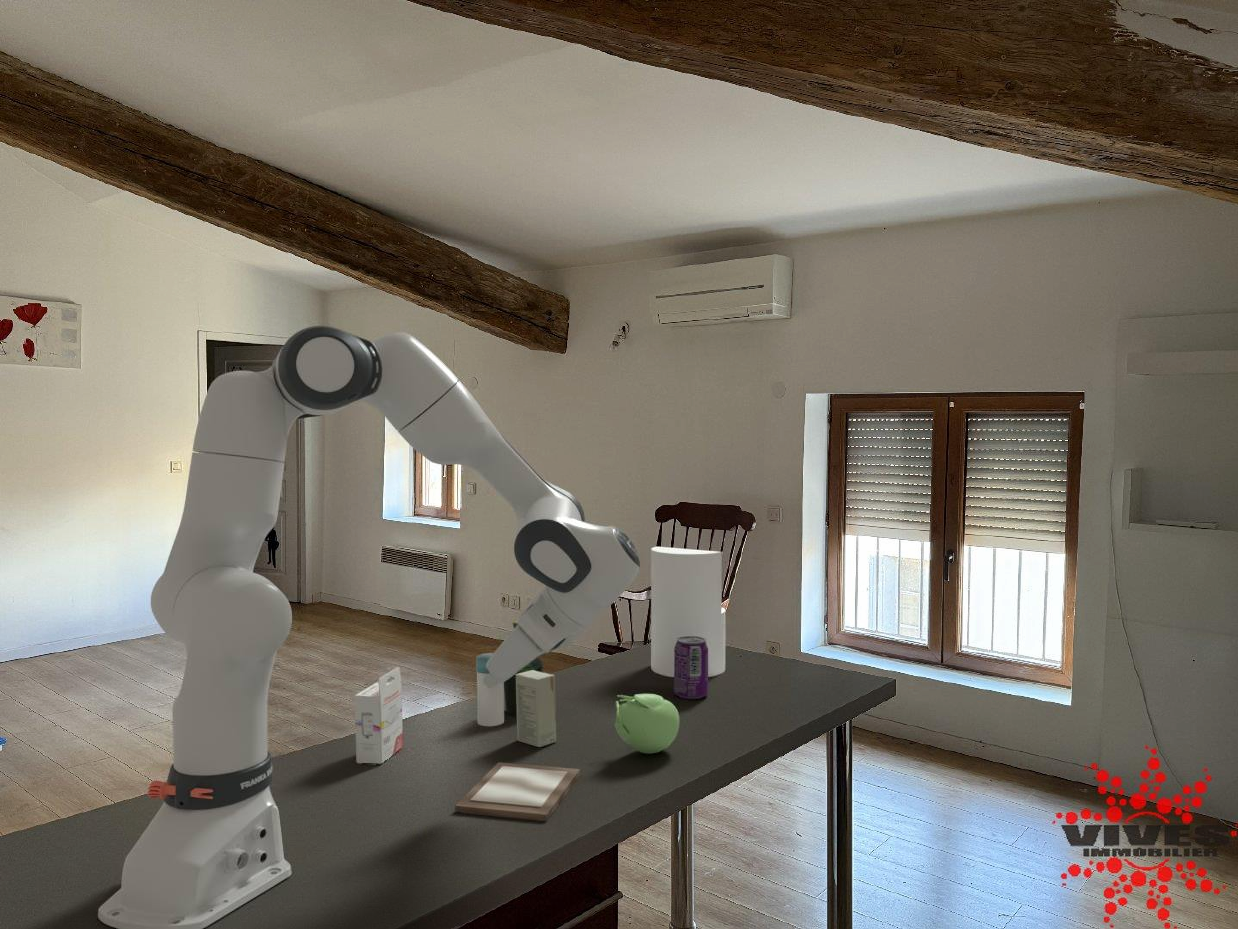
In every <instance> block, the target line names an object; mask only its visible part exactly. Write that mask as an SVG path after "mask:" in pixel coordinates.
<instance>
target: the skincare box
mask: <svg viewBox="0 0 1238 929" xmlns="http://www.w3.org/2000/svg"><path fill="white" fill-rule="evenodd" d="M555 677H556V676H555V674H551V673H547V672H539V671H535V670H531V671H527V672H523V673H519V674H516V706H517V716H516V735H517V737H516V738H517V740H516V741H519V742H521V743H524V744H528V745H531V746H534V747H538V748H541V747H544V746H548V745H550V744H554V743H555V742H557V718H556V717H557V715H556V712H557V711H556V678H555Z"/></svg>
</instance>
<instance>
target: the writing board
mask: <svg viewBox="0 0 1238 929" xmlns="http://www.w3.org/2000/svg"><path fill="white" fill-rule="evenodd" d="M580 776H581V769H580V768H579V769H578V768H568V767H559V766H545V765H534V764H523V763H521V764H520V763H509V762H500V761H498V762H497V763H496V764H495V765H494V766H493V767H492V768H491V769H490V770H489V771H488V772H487V773H486V774H485V775H484V776H483V777H482V778H481V779H480V781H478V782H477V783H476V784H475V785H474V786H473V787H472V789H470V791H469V792H467V794H465V795H464V796H463V798H461V799H460V800H459V801H458V803H457V804H455V806H454V807H455V810H454V812H455V813H457V812H460V813H459V814H467V815H477V816H488V817H498V818H500V817H501V818H510V819H517V820H527V821H528V820H531V821H538V822H539V821H541V822H547V821H548V820H549V819H550V818H551V816H552V815H553V813H554V812H555V811H556V809H557V808H558V807H559V805H560V804H561V802H562V801H563V799H564V798H565V797H566V795H567V794H568V793H569V792H570V789H572V787H573V786H574V785H575V783H576V782H577V780H578V779H579V778H580ZM468 813H469V814H468Z"/></svg>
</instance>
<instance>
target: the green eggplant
mask: <svg viewBox="0 0 1238 929" xmlns="http://www.w3.org/2000/svg"><path fill="white" fill-rule="evenodd" d="M616 696H617V698H621V699H619V700H616V701H615V709H616V719H614V721H615V723H614V728H615V730H616V731H617V734H618V735H619V737H620V738H621V739H622V740H623V741H624V742H625V743H626V744H627V745H630V746H633V748H634V750H636V751H638V752H639V753H642V754H650V755H651V754H657V753H661V751H664V750H665V749H667V748H668V747H670V745H671V744H672V743H673V742H674V741H675V738H676V737H677V736H678V732H679V729H680V715H679V714H680V713H679V712H678V709H677V708H676V706H675V705H674V704H673V703H672V702H671V701H669V700H667V699H665V698H664V697H663V696H661V695H658V694H655V693H637V694H634V695H633V696H629V695H623V694H620V695H619V694H617V695H616ZM625 701H626V702H625ZM619 702H624V703H622V704H619Z"/></svg>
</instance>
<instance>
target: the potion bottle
mask: <svg viewBox="0 0 1238 929" xmlns="http://www.w3.org/2000/svg"><path fill="white" fill-rule="evenodd" d="M516 621H517V619H516V620H512V625H513V629H514V628H515V627H516V626H517V625H518V623H517V622H516ZM511 632H512V631H510V632H508V635H509V634H510V633H511ZM543 668H544V663H543V661H542V659H541V658H540V657H539V656H538V657H537V658H535V659H534V660H533V661H531V662H530V663H529V664H527V665H526V666H525V667H524V668H522V669H521V670H520V671H518V672H517V673H516V674H519V673H523V672H527V671H531V670H535V671H539V672H543V671H544V670H543ZM543 673H544V672H543ZM516 674H515V675H513V676H512V677H511V678H509V679H508V680H506V681H505V682H504V704H505V711H506V713H507V714H508V715H510V716H515V717H517V706H516Z"/></svg>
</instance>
